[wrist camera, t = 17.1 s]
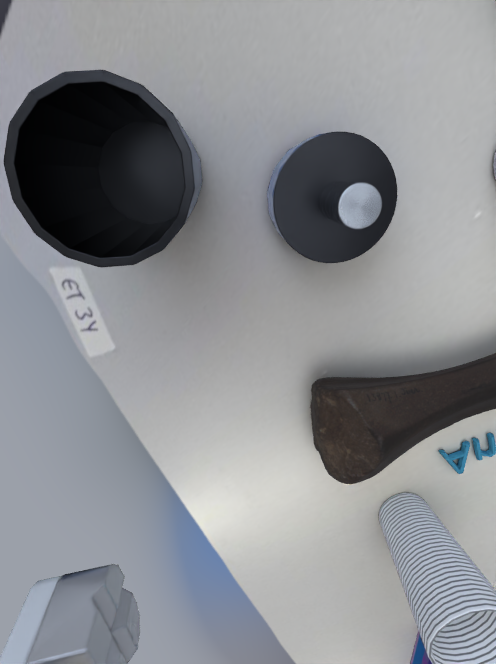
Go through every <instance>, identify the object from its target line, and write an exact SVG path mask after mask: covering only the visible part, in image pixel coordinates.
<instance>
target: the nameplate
mask: <svg viewBox="0 0 496 664" xmlns="http://www.w3.org/2000/svg"><path fill="white" fill-rule="evenodd" d="M487 437H488V443H489V449H488V450H487V451H482V450H481V449H480V443H479V440H478V439H477V438H473V439H472V440H473V445H474V450H475V455H476V458H477V460H482V456H489V457H492V456H493V455H495V453H496V445H495V439H494V435H493V434H492V433H488V434H487ZM469 447H470V443H469V442H468V441H465V442H463V443H462V447H461V450H460V451H457V452H454V453H451V454H448V455H447V453H446V452H445V451H444V450H442V449H441V450H439V452H440V454H441V455H442V456H443V457H444V458H445V459H446V460H447V462H448V463H449V464H450V465H451V466H452V467H453V468H454V470H455V471H456V472H457V473H458V474H461V473H463V471H464V467H465V463H466V459H467V455H468V451H469ZM458 458H459V459H458ZM455 459H458V463H457V465H456V464H455V463H454V462H453V460H455Z"/></svg>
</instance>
